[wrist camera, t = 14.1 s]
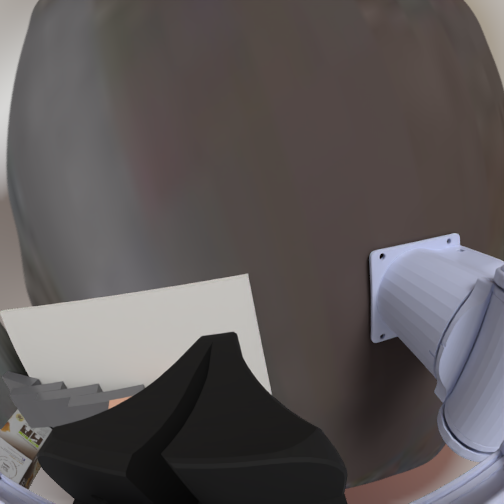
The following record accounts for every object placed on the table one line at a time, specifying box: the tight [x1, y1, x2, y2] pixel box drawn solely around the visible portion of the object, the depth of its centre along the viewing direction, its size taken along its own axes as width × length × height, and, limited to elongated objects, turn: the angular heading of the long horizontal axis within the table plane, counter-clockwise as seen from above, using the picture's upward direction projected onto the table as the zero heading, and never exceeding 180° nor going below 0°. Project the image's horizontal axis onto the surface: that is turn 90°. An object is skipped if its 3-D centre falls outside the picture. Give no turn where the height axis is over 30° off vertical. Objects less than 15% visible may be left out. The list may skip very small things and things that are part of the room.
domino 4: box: [68, 384, 145, 421], centre depth 20 cm, size 2×5×8 cm
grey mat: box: [0, 274, 272, 395], centre depth 21 cm, size 28×16×1 cm, turn 100°
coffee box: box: [0, 410, 52, 489], centre depth 17 cm, size 9×6×16 cm
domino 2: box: [9, 381, 67, 428], centre depth 20 cm, size 2×5×8 cm
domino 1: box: [2, 371, 41, 392], centre depth 21 cm, size 2×5×8 cm
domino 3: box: [35, 383, 103, 428], centre depth 20 cm, size 2×5×8 cm
